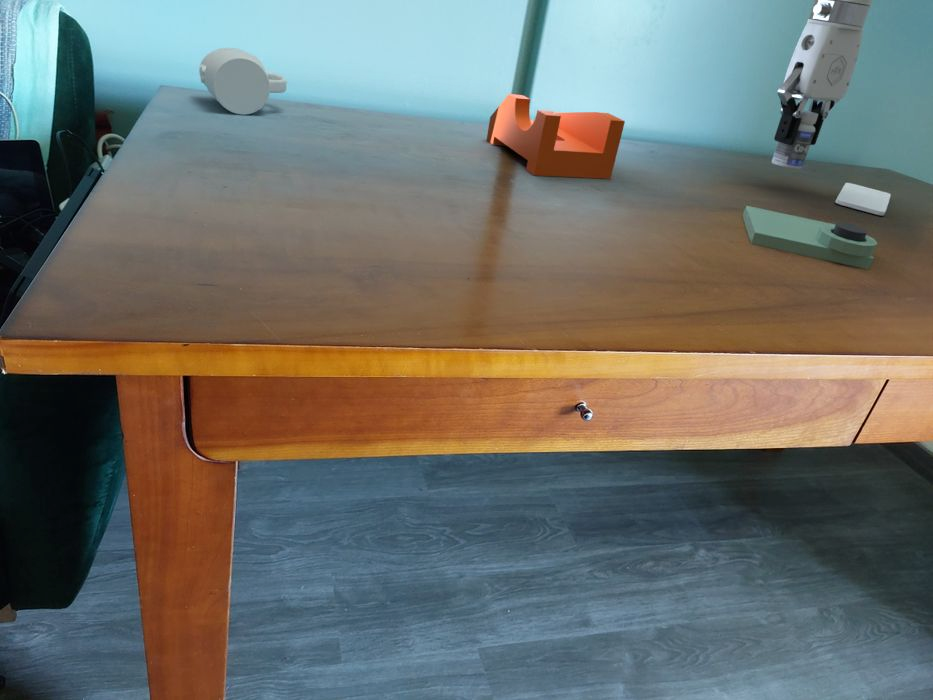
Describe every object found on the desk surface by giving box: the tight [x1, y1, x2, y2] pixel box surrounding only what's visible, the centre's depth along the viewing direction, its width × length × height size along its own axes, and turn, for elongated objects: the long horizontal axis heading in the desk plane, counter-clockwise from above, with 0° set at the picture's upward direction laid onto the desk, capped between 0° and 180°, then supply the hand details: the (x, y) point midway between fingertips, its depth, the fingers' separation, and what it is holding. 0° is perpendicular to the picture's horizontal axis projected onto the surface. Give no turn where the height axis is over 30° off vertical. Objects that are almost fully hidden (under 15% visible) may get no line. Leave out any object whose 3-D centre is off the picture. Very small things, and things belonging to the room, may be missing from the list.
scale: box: [742, 205, 878, 270], centre depth 93 cm, size 14×13×3 cm
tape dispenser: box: [486, 93, 626, 180], centre depth 110 cm, size 18×13×8 cm
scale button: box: [832, 221, 868, 242], centre depth 89 cm, size 4×4×1 cm
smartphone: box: [835, 182, 892, 216], centre depth 118 cm, size 7×1×15 cm
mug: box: [198, 47, 287, 116], centre depth 110 cm, size 12×9×8 cm
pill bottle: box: [771, 109, 818, 170], centre depth 114 cm, size 5×5×8 cm
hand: (794, 141), depth 114 cm, fingers closed on pill bottle, 4 cm apart
